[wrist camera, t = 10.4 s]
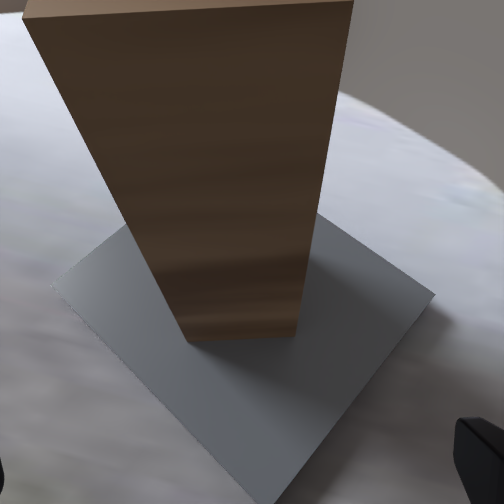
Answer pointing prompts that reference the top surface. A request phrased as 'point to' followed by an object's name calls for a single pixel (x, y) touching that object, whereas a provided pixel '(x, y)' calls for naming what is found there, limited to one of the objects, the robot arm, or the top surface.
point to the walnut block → (207, 140)
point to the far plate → (254, 352)
